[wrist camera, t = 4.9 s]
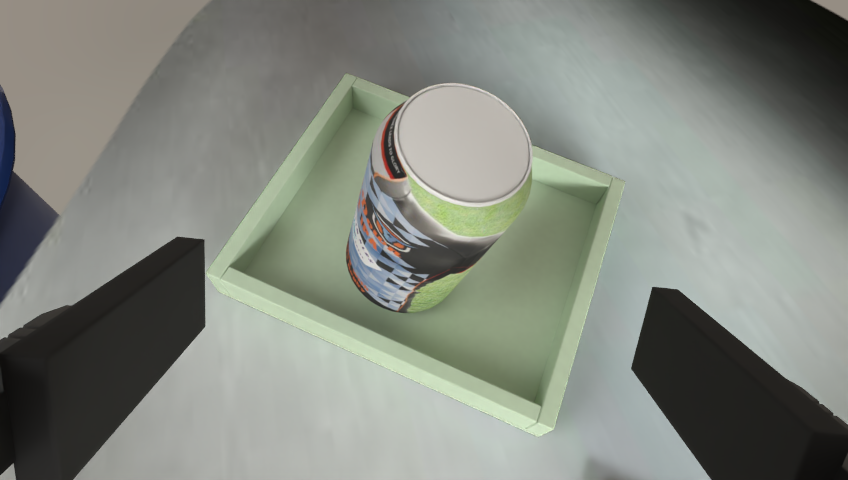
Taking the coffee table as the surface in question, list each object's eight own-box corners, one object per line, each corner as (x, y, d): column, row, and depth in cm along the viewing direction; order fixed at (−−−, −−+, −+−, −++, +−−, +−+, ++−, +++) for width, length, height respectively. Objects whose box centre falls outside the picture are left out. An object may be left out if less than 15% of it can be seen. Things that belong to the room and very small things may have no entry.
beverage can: (361, 207, 30) (356, 37, 19) (489, 233, 30) (555, 77, 19) (332, 311, 27) (307, 178, 16) (474, 340, 27) (542, 225, 16)
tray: (217, 291, 27) (204, 273, 25) (347, 99, 34) (345, 72, 32) (538, 437, 25) (553, 430, 23) (609, 203, 32) (626, 181, 30)
